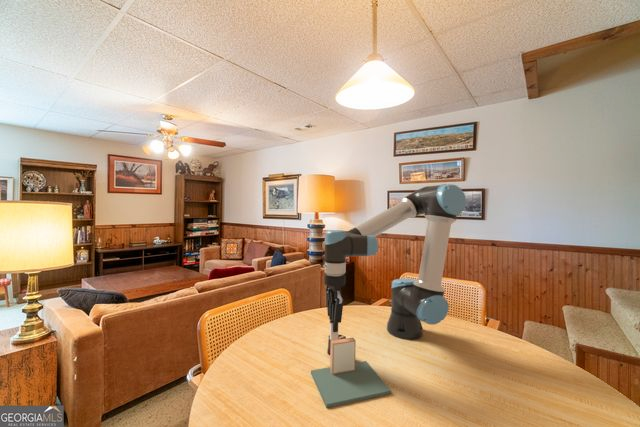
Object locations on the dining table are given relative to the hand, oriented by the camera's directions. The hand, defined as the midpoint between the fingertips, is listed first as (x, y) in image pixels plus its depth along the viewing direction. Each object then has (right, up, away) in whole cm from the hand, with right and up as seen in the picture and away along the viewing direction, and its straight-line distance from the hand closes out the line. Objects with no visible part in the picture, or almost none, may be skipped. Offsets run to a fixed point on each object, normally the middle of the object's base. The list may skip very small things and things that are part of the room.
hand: (333, 339), depth 97 cm
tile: (+2, -7, -8) cm, 11 cm away
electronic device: (+3, -8, +2) cm, 9 cm away
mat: (+4, -8, -13) cm, 15 cm away
